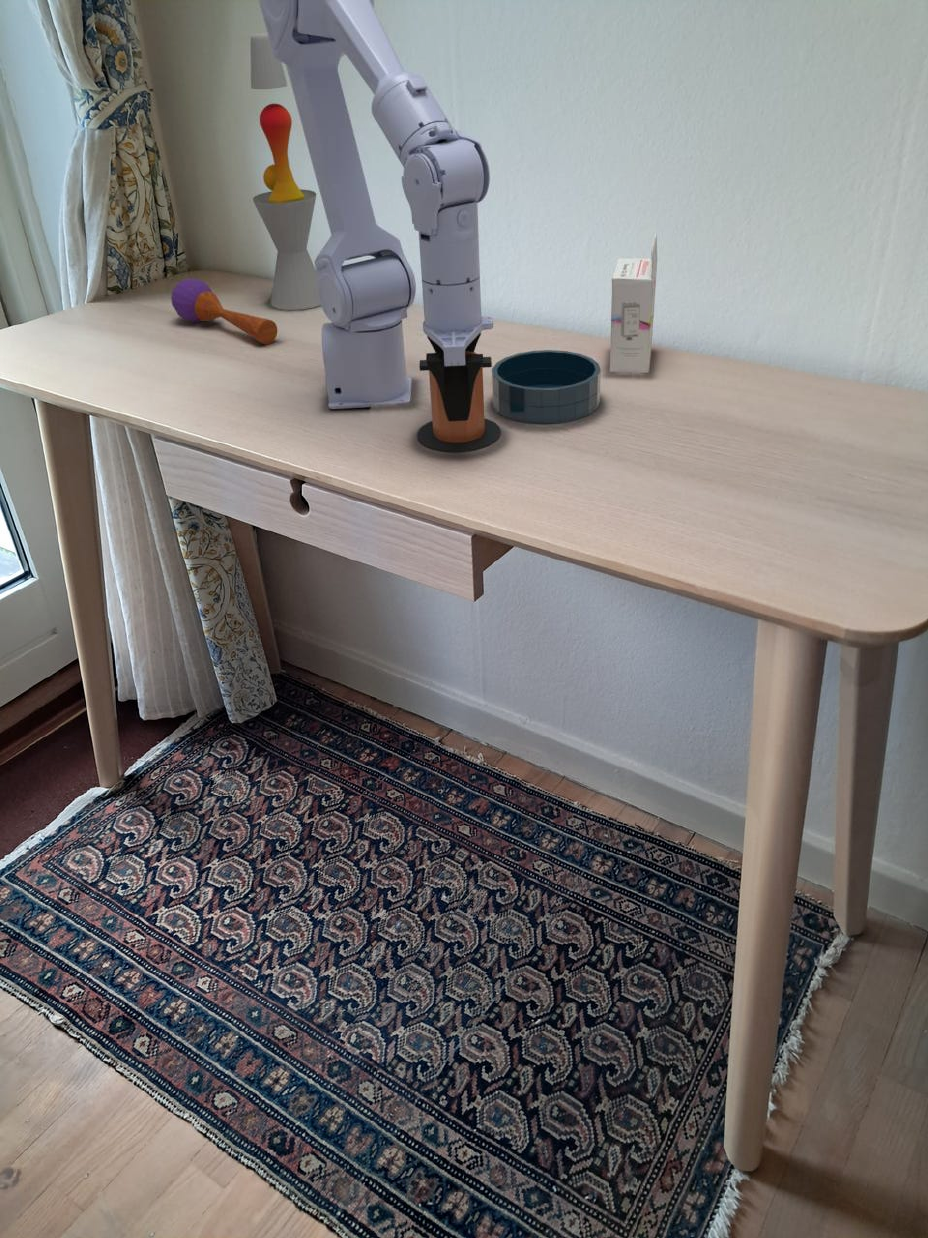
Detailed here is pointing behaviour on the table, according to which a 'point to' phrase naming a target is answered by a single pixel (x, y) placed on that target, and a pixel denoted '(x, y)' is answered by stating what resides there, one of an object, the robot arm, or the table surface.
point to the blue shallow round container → (546, 387)
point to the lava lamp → (283, 192)
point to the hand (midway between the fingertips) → (457, 407)
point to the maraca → (217, 310)
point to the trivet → (431, 442)
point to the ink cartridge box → (633, 312)
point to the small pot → (458, 429)
